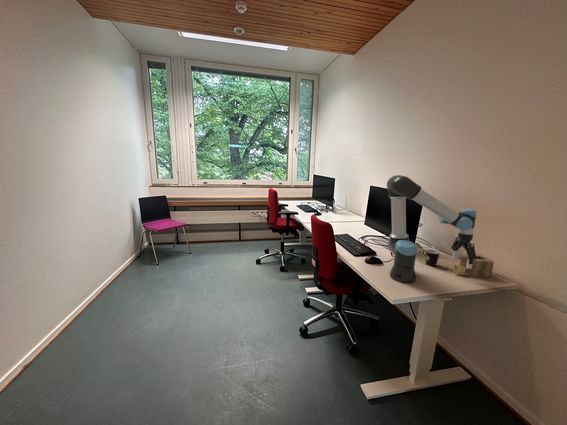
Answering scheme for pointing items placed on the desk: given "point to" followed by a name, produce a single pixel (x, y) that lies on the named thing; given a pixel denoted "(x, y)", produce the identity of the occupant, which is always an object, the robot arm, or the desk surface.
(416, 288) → the desk surface
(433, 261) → the coffee mug
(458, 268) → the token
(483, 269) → the box
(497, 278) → the desk surface
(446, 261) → the desk surface
